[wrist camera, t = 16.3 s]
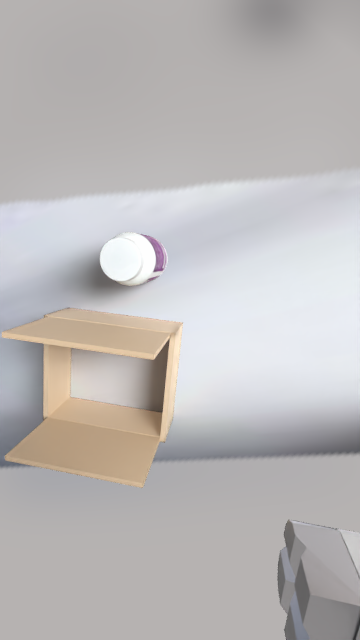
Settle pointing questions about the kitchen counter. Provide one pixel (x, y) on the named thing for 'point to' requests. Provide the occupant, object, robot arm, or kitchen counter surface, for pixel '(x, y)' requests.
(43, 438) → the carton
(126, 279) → the pill bottle
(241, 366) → the kitchen counter surface
